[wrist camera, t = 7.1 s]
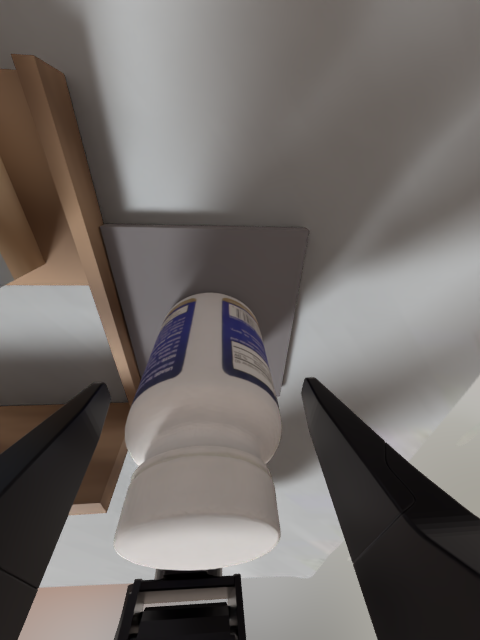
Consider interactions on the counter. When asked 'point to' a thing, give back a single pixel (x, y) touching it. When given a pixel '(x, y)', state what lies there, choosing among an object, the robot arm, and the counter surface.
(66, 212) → the rack
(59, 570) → the counter surface
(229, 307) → the pill bottle
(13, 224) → the offcut lower
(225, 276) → the mat
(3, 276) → the offcut upper
